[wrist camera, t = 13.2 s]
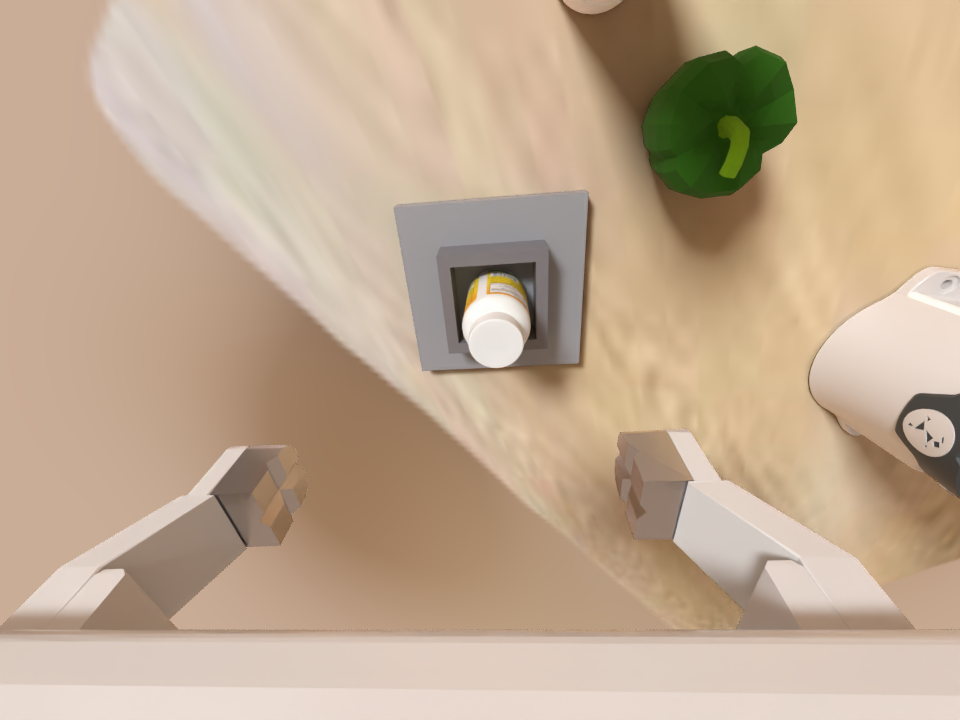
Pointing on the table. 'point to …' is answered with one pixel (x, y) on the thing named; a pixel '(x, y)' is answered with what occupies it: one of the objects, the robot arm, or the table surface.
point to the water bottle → (591, 5)
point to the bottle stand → (495, 245)
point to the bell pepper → (719, 121)
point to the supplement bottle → (496, 318)
